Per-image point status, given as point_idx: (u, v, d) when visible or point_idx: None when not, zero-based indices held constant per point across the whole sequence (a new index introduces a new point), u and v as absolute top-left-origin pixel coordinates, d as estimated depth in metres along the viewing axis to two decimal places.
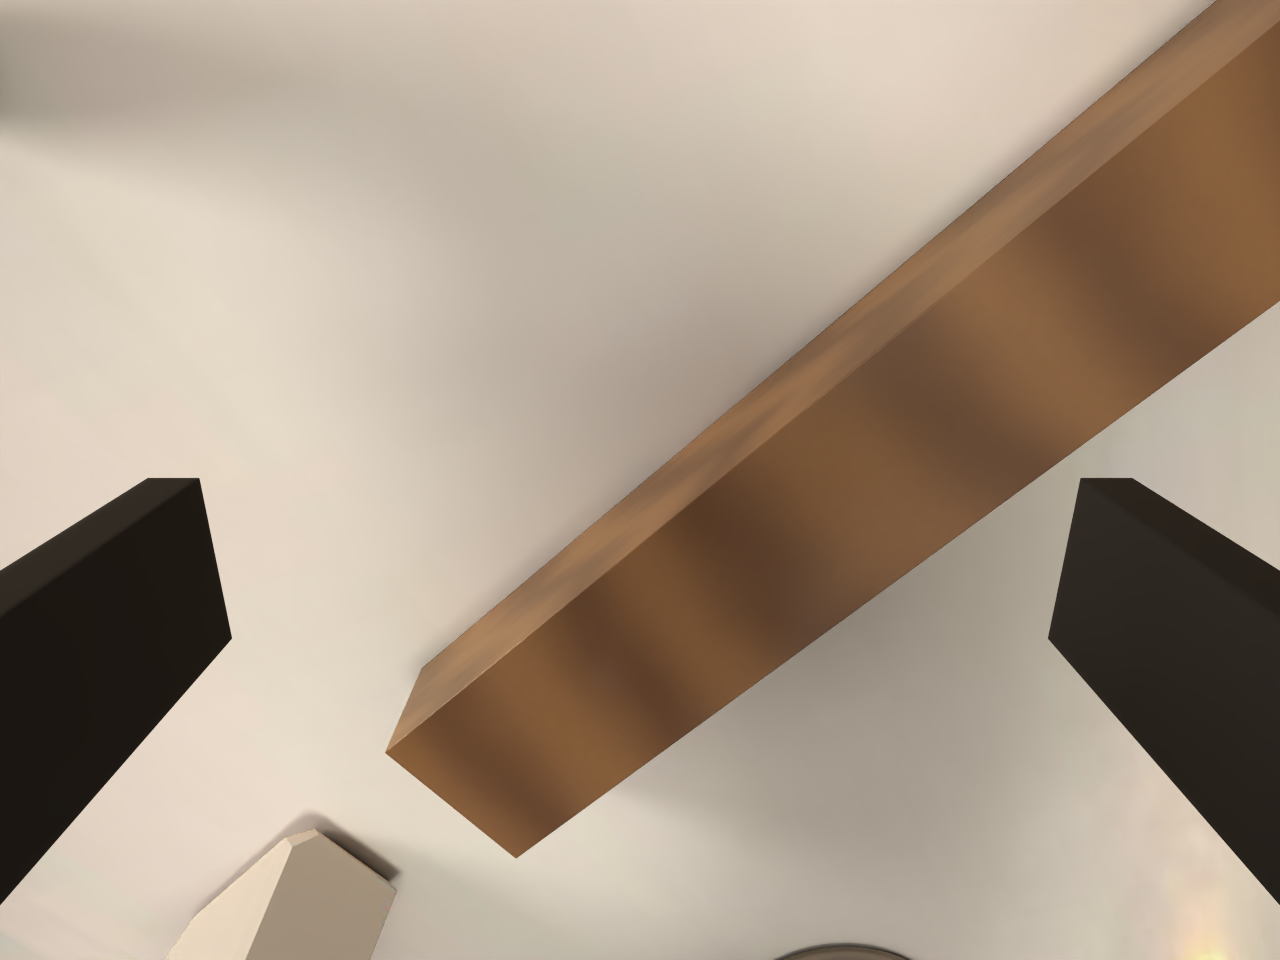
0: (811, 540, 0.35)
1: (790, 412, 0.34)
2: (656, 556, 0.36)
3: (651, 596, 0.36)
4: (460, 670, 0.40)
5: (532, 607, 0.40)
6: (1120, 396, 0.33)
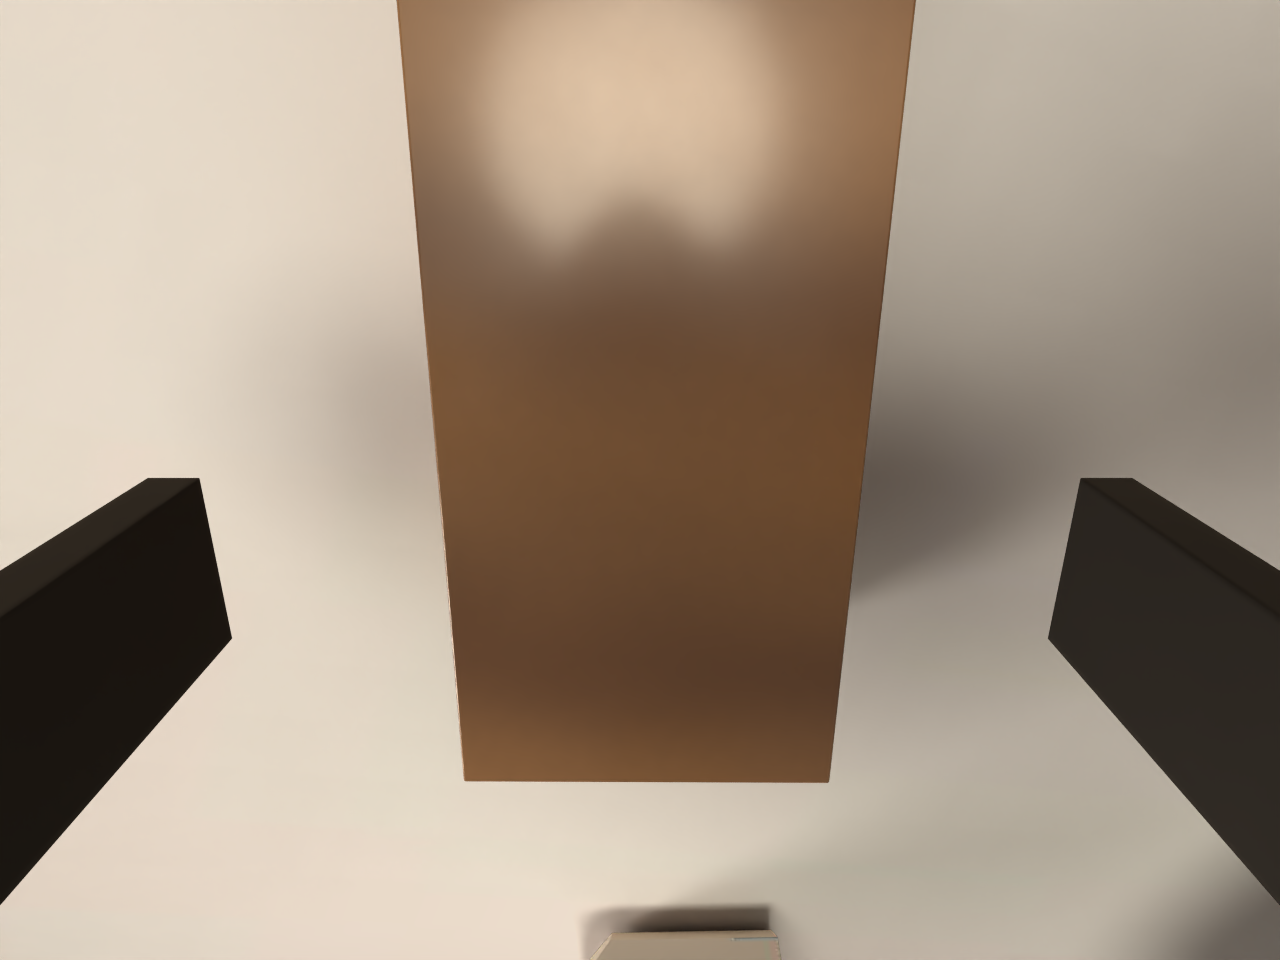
0: None
1: None
2: None
3: (531, 95, 0.15)
4: None
5: None
6: None
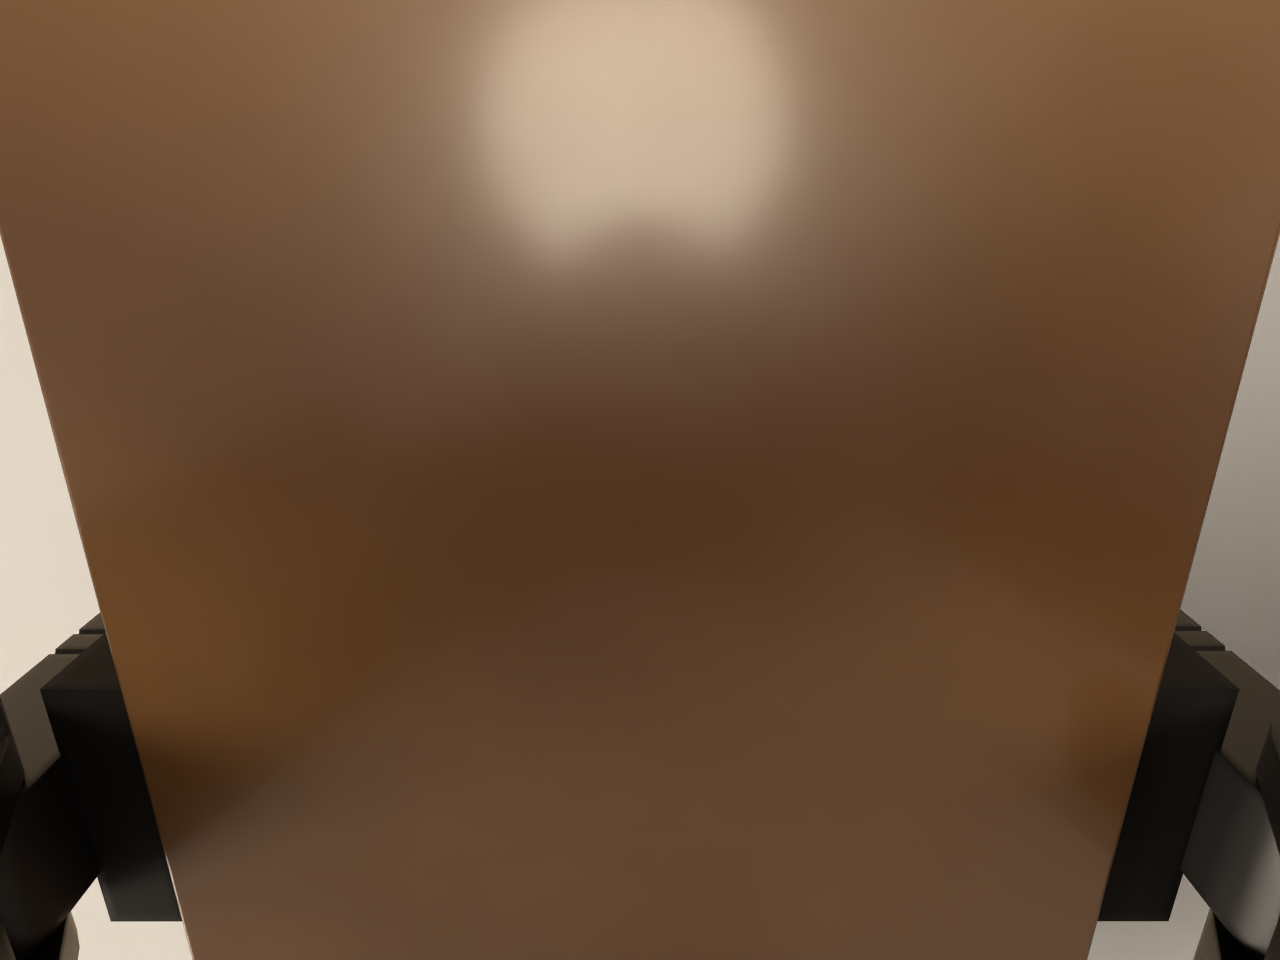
0: None
1: None
2: None
3: None
4: None
5: None
6: None
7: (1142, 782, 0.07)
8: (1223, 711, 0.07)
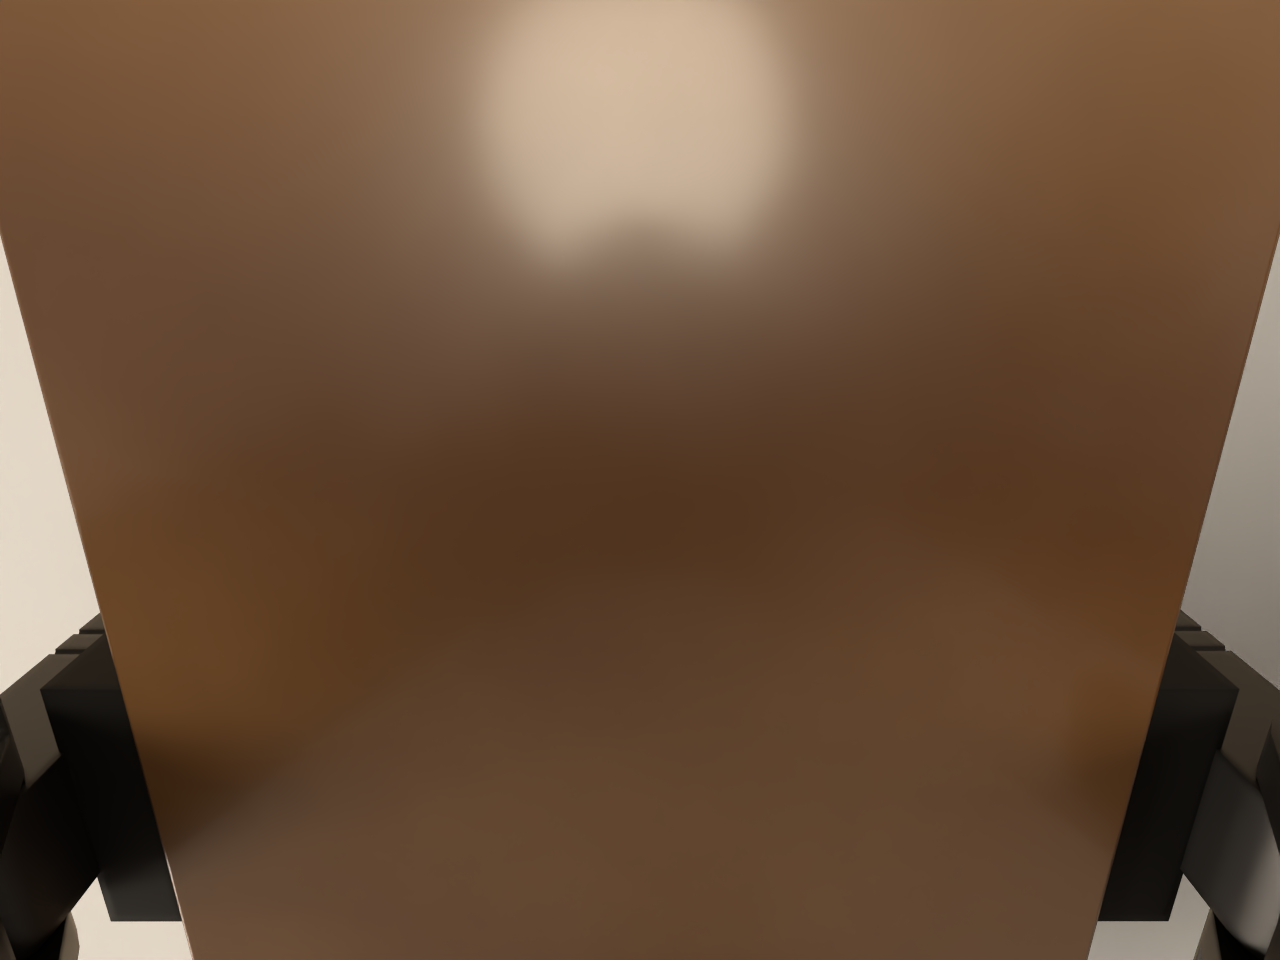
0: None
1: None
2: None
3: None
4: None
5: None
6: None
7: (1143, 782, 0.07)
8: (1224, 711, 0.07)
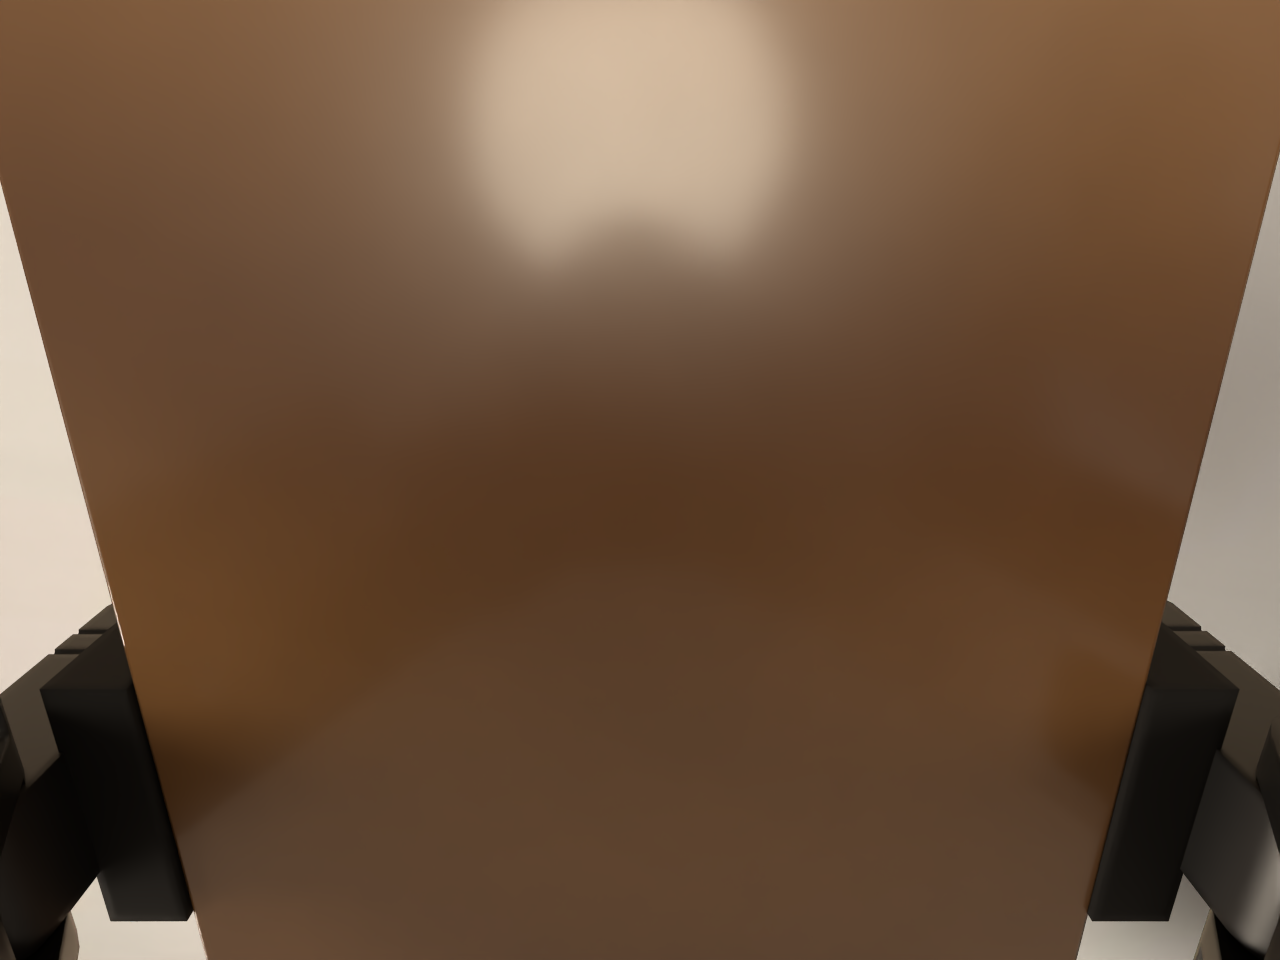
0: None
1: None
2: None
3: None
4: None
5: None
6: None
7: (1143, 782, 0.07)
8: (1224, 711, 0.07)
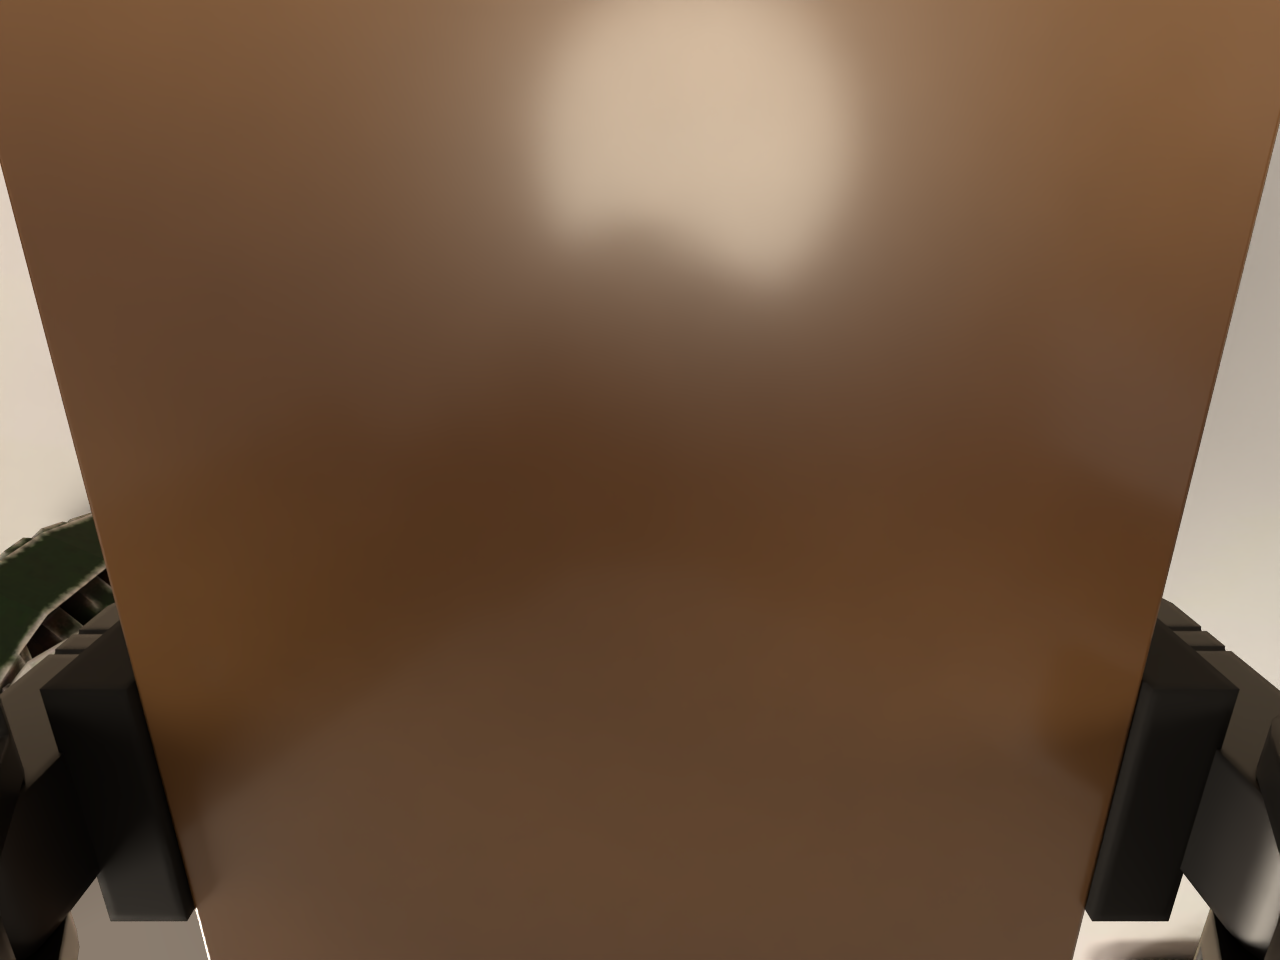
0: None
1: None
2: None
3: None
4: None
5: None
6: None
7: (1143, 782, 0.07)
8: (1223, 711, 0.07)
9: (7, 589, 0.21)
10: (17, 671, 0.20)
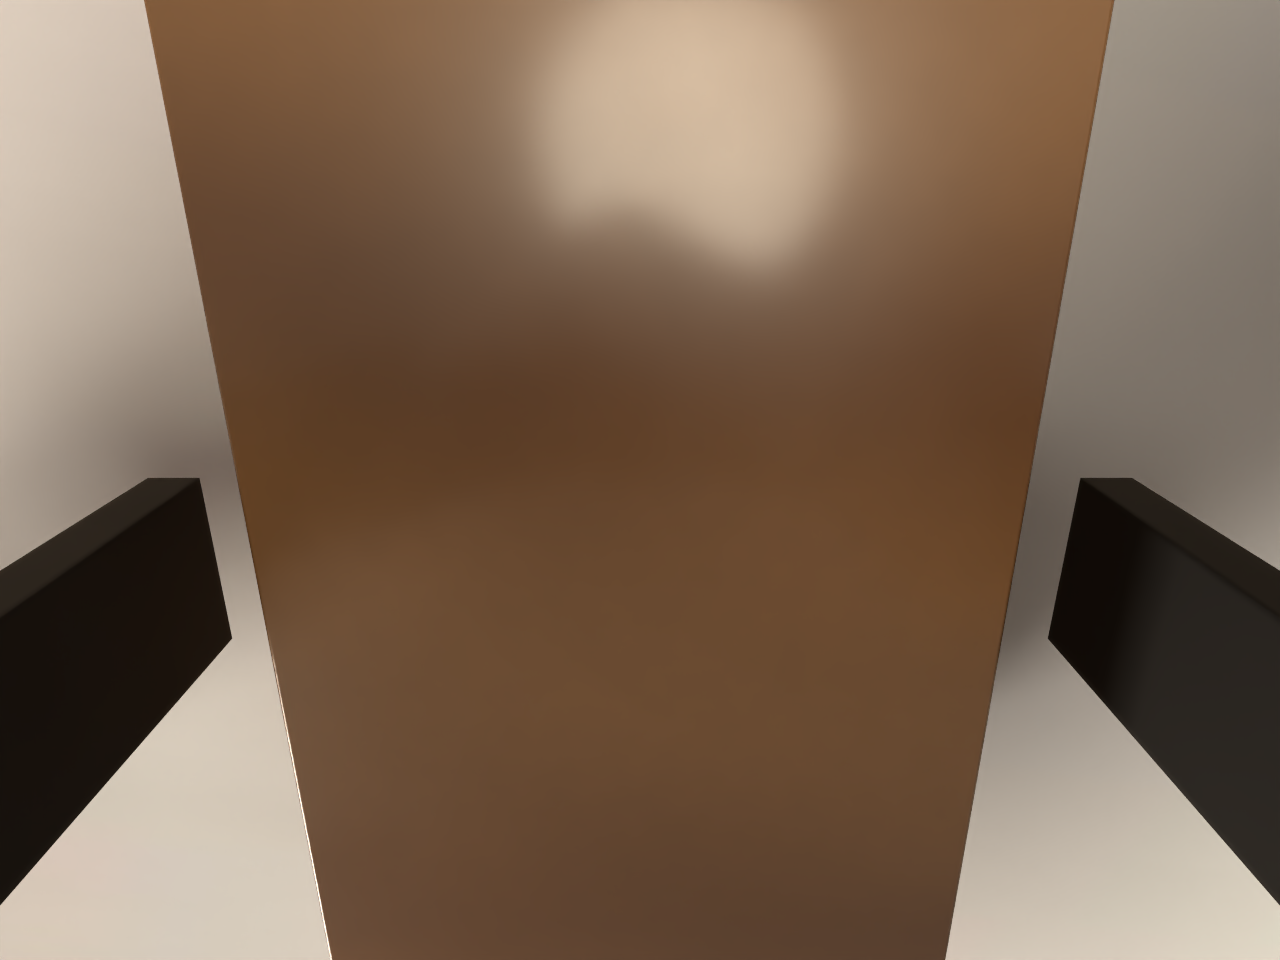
0: None
1: None
2: None
3: None
4: None
5: None
6: None
7: None
8: None
9: None
10: None
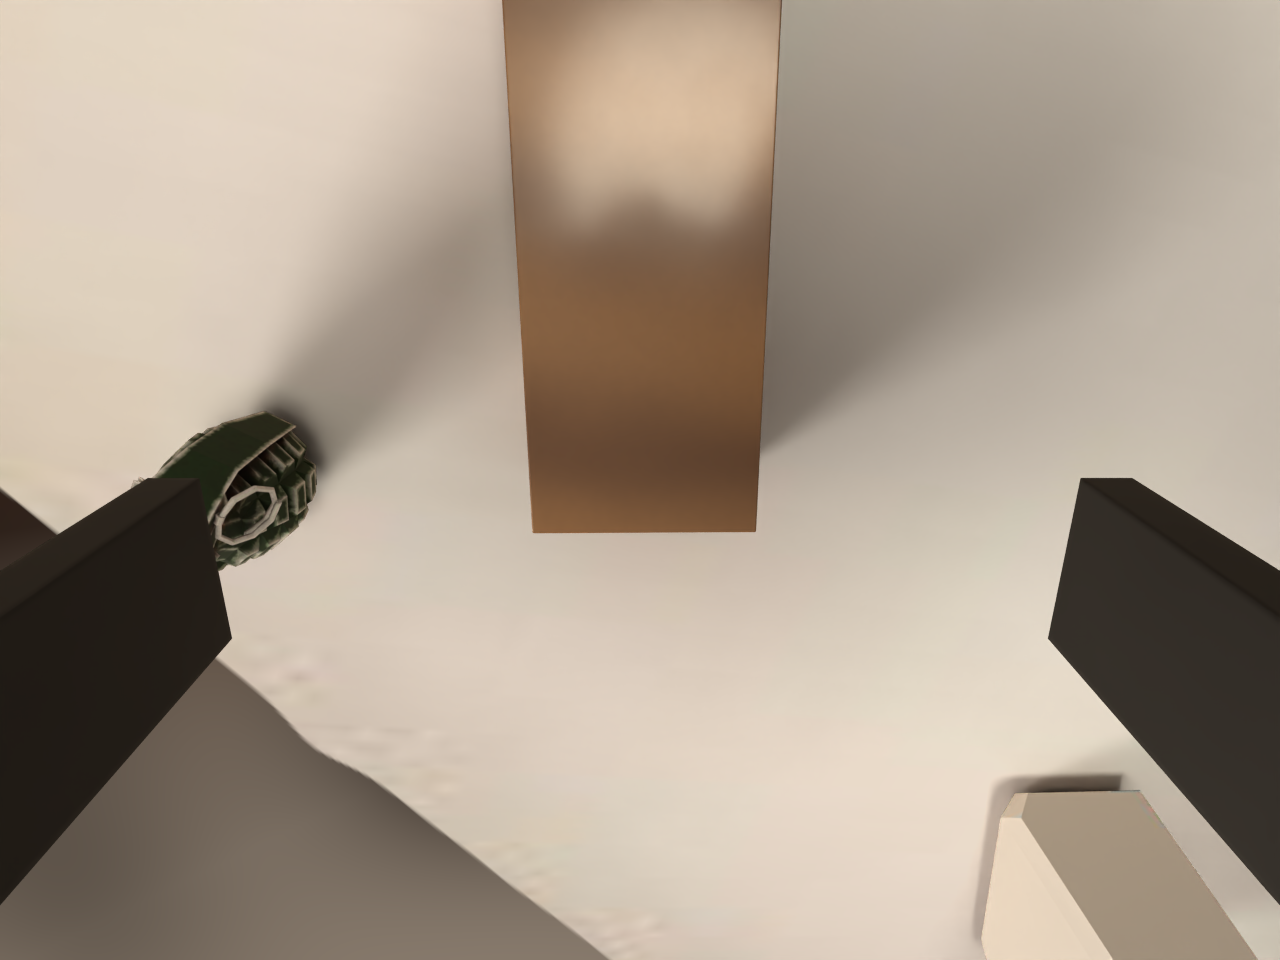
0: None
1: None
2: (534, 67, 0.27)
3: (576, 117, 0.27)
4: None
5: None
6: None
7: None
8: None
9: (210, 454, 0.31)
10: (222, 505, 0.30)
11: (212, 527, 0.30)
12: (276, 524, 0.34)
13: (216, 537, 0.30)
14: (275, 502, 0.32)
